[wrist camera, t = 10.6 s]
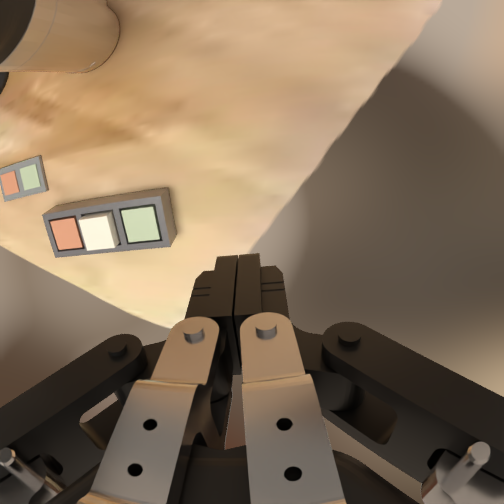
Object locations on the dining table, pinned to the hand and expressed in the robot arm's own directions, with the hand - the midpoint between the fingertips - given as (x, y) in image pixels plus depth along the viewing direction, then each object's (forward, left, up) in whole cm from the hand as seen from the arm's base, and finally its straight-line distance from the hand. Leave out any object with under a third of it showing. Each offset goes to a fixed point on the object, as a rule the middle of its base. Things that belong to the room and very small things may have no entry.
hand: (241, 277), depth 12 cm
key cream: (+6, -18, -25) cm, 31 cm away
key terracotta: (+6, -24, -26) cm, 36 cm away
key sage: (+6, -13, -26) cm, 30 cm away
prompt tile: (-2, -32, -27) cm, 42 cm away
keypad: (+6, -18, -27) cm, 33 cm away
